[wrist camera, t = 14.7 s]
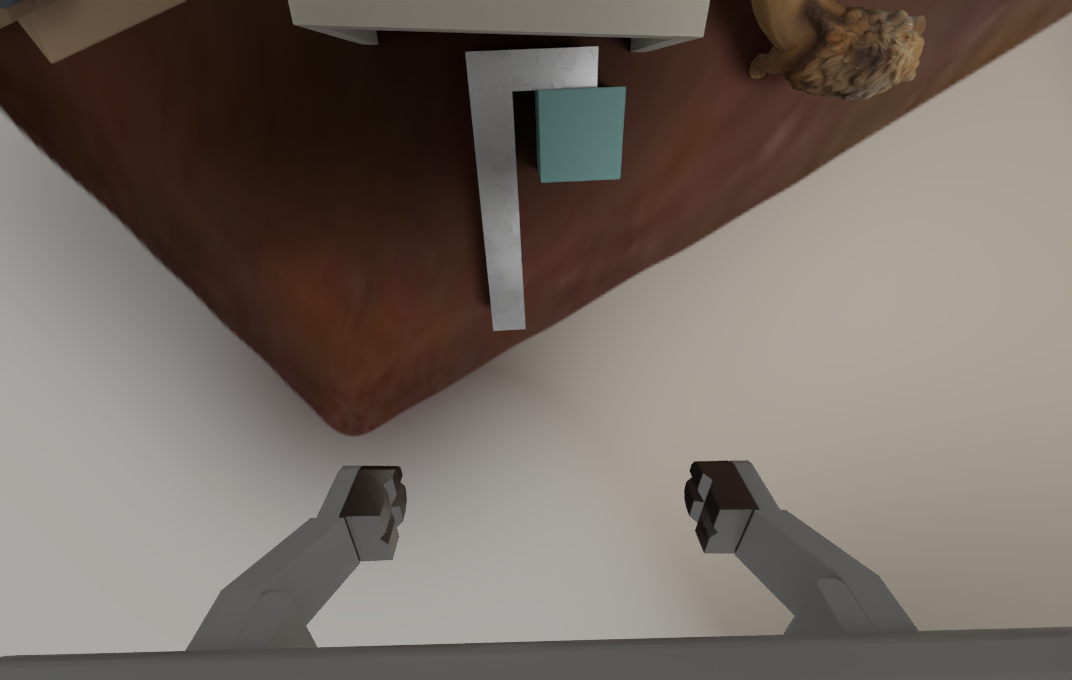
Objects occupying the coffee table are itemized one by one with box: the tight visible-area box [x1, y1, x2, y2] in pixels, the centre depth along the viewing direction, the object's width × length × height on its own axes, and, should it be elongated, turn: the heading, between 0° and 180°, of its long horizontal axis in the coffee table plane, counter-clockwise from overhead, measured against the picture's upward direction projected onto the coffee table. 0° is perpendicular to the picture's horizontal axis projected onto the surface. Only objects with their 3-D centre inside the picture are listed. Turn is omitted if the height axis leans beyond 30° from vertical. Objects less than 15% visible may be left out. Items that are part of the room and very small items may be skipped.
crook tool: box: [465, 46, 599, 331], centre depth 30 cm, size 8×18×4 cm, turn 2°
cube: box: [535, 87, 626, 183], centre depth 27 cm, size 5×5×5 cm
